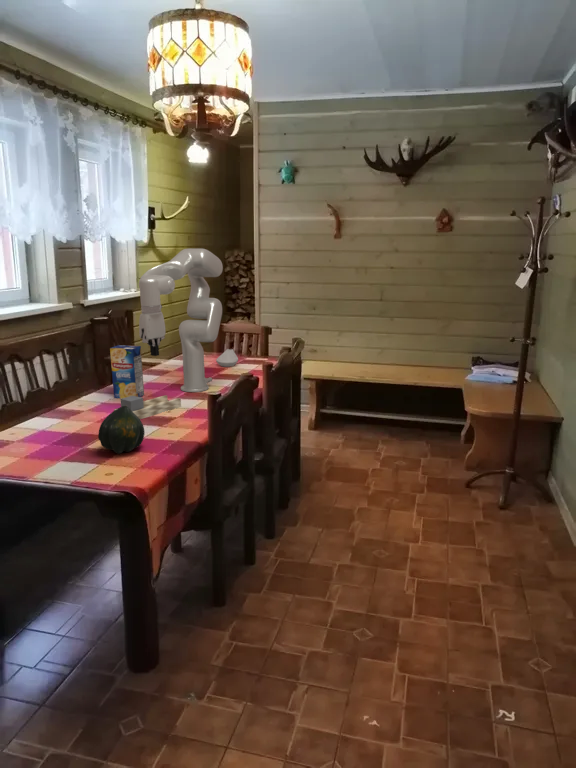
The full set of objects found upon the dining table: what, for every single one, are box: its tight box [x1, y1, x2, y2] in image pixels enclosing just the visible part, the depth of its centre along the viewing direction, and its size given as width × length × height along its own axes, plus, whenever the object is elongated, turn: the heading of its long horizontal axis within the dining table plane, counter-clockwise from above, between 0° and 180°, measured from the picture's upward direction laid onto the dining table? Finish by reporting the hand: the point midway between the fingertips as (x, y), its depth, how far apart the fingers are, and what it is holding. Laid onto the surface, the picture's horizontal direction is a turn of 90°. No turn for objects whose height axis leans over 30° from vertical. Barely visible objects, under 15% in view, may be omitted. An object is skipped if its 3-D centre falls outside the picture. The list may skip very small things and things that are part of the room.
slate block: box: [120, 396, 144, 412], centre depth 234 cm, size 6×6×6 cm
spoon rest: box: [215, 348, 239, 368], centre depth 329 cm, size 24×12×7 cm, turn 179°
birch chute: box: [113, 394, 182, 420], centre depth 240 cm, size 26×9×4 cm, turn 143°
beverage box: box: [109, 344, 145, 399], centre depth 262 cm, size 7×11×22 cm, turn 75°
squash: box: [97, 406, 146, 455], centre depth 199 cm, size 14×15×15 cm
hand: (155, 355), depth 242 cm, fingers closed
